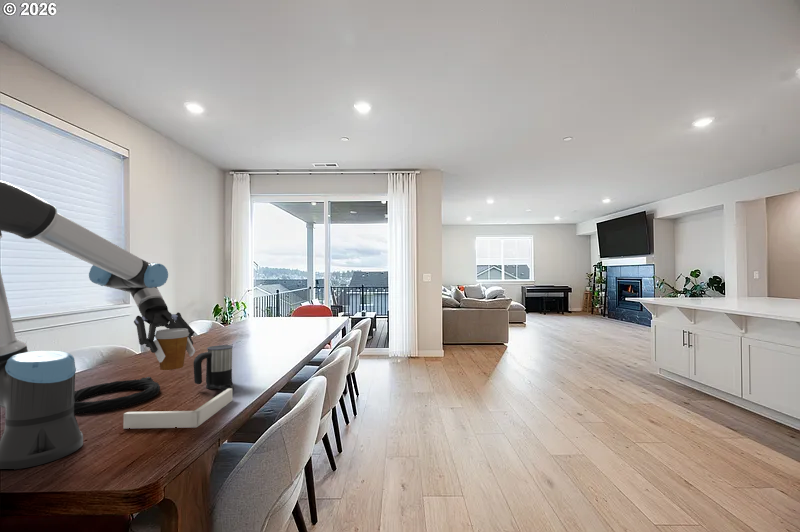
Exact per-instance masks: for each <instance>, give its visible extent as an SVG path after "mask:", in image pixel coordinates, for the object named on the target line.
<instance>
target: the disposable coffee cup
mask: <svg viewBox="0 0 800 532" xmlns="http://www.w3.org/2000/svg"><path fill="white" fill-rule="evenodd" d="M189 334H190V333H189V332H188V329H185V328H175V329H169V328H164V329H159V330H156V331H155V337H154V339H155V340H158V342H159V344H160V346H161V348H162V350H163V352H164V354H165V358H164V359H163V361H162V362H159V361H158V362H159V369H160V370H161V371H173V370H174V371H175V370H178V369H181V368H184V365H185V359H186V352H187V350H186V345H187V339H188V336H189Z"/></svg>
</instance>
